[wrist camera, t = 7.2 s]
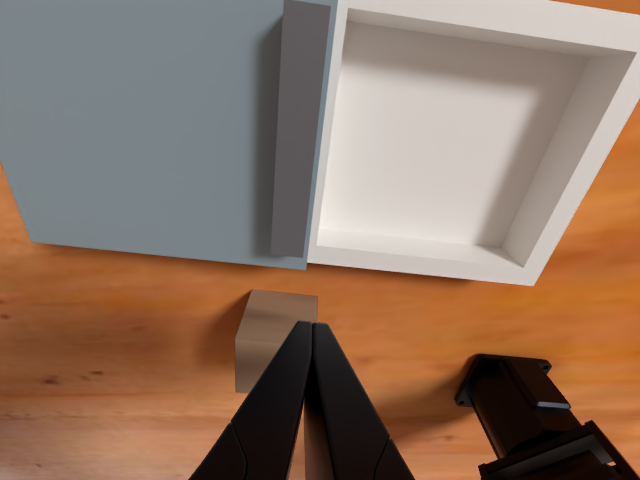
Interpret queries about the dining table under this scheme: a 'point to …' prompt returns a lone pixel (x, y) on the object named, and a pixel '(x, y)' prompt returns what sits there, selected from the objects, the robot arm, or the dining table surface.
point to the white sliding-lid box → (466, 132)
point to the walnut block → (267, 331)
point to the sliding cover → (166, 124)
